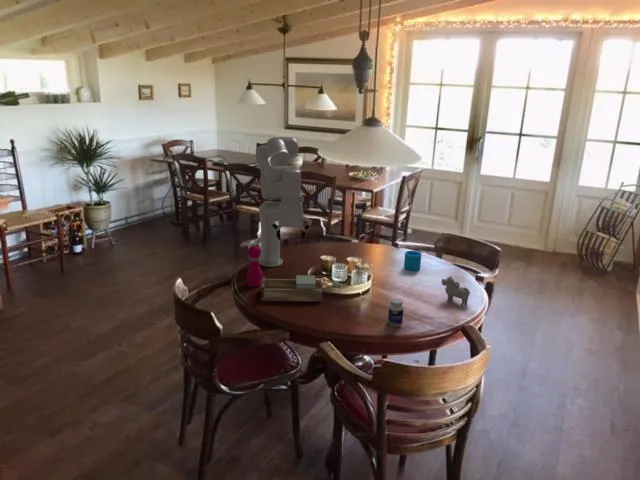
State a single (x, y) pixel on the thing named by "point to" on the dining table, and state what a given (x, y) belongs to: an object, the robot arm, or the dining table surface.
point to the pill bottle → (395, 312)
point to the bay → (288, 291)
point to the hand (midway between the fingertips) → (290, 239)
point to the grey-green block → (305, 282)
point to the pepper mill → (254, 266)
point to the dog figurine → (455, 290)
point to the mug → (412, 261)
